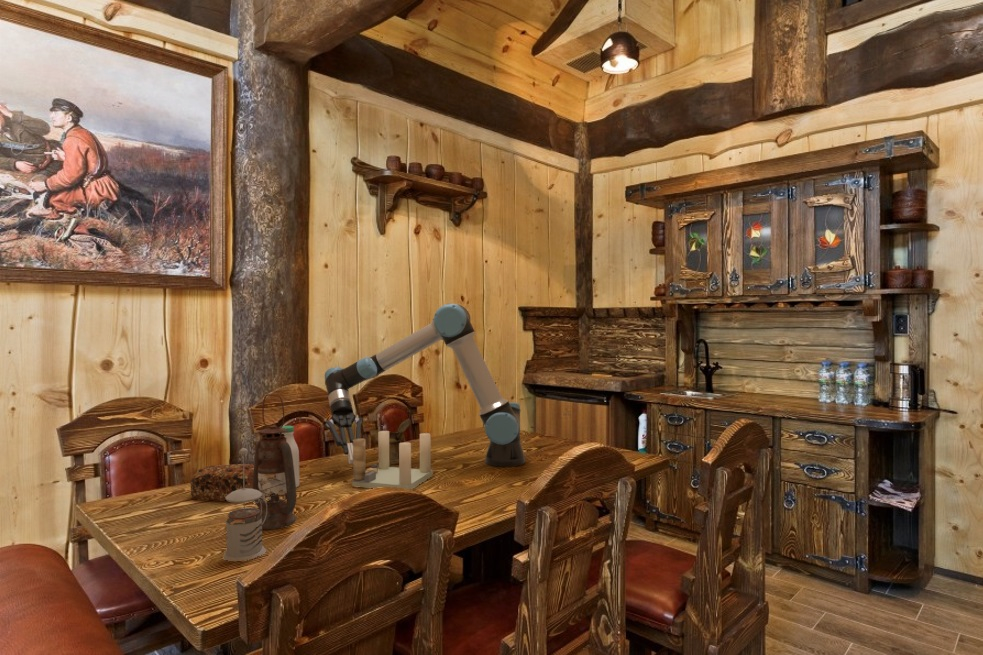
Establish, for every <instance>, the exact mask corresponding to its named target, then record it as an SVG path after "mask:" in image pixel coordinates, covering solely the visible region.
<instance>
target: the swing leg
mask: <svg viewBox="0 0 983 655" xmlns="http://www.w3.org/2000/svg"><path fill="white" fill-rule="evenodd" d="M366 461H367V460H366V438H360V439H354V440H353V464H352V466H353V467H352V475H353V477H352V478H353V479H355V480H362V479H364V475H365V474H367V473H369V472H371V471H373V472H378V468H379V463H372V464H371V465H370V466H371V467H369V468H367V469H366ZM353 479H352V480H353Z"/></svg>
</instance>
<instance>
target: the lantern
mask: <svg viewBox="0 0 983 655" xmlns="http://www.w3.org/2000/svg"><path fill="white" fill-rule="evenodd" d="M268 396H270V397H272V396H273V397H277V398H279V400H280V402H281V406H282V424H281V426H279V427H278V426H277V425H267V424H266V422H265V417H264V416H265V413H264V412H265V401H266V398H267V397H268ZM261 414H262V422H263V425H264V426H265V427H266V428H263V429H260V430H259V431H258V434H261V435H262V436H261V438H260V439H259V440H258V441H257V443H256V448H255V453H254V462H253V463H254V472H253V489H255V490H258V491H260V492H261V493H262V496H261V497H262V498H264V499H265V501H266V503H267V516H266V520H265V521H264V519H265V515H266V503H265V501H264V500H263V499H262V498H259V499H260V501H261V504H262V514H261V516H262V523H263V521H264V523H263V524H262V529H271V530H276V529H275V528H279V529H282V528H281V527H283V528H286V527H285V526H287V527H289V526H292V525H294V523H295V522H296V515H295V514H294V513H293V511H294V509H295V507H296V505H297V504H296V503H297V487H296V483H295V474H294V465H293V457H292V451H291V447H290V445H289V444H288V443H287V442H286V437H284V436H285V435H284V434H282V433H283V432H286V431H288V429H286V428H282V427H283V426H284V423H285V408H284V402H283V398H282V397H281V396H280V395H278V394H271V393H270V394H269V393H268V394H266V395H265V396H264V398H263V402H262V412H261ZM284 472H285V473H284ZM275 474H277V476H276V479H275V476H274V475H275ZM270 475H272V477H271V476H270ZM284 477H285V479H284ZM285 480H286V481H285ZM277 481H278V482H277ZM284 481H285V482H284ZM281 482H283V483H282V484H281ZM262 484H263V485H262ZM275 484H277V485H275ZM278 485H279V486H278ZM283 485H284V487H283ZM275 486H276V487H275ZM277 486H278V487H277ZM282 487H283V488H282ZM281 489H283V490H281ZM280 492H281V493H280ZM280 497H282V498H283V499H280ZM267 500H268V501H267ZM260 501H259V503H254V504H255V505H256V506H257V509H259V510H260V513H261V504H260ZM254 502H258V499H257V500H254ZM260 513H259V514H258V515H260ZM256 521H257V516H255V522H256ZM255 529H257V527H256V528H255Z"/></svg>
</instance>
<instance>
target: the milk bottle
mask: <svg viewBox="0 0 983 655" xmlns="http://www.w3.org/2000/svg"><path fill="white" fill-rule="evenodd" d="M282 428H286V429H288V431H286V432H283V433H282V434H284V435H285V436H284V437H286V442H287V443H288V444H289V445H290V447H291V451H292V457H293V465H294V474H295V483H296V488H298V487H299V486H300V453H299V452H300V451H299V447H298V446H299V445H298V444H297V442H296V440H295V437H294V434H295V427H294V426H293V425H283V427H282ZM284 473H285V472H284ZM276 476H277V474H274V477H275V479H276ZM284 479H285V477H284ZM285 481H286V480H285ZM285 481H284V482H285ZM277 482H278V481H277ZM282 483H283V482H281V484H282ZM275 485H277V484H275ZM278 486H279V485H278ZM278 486H277V487H278ZM275 487H276V486H275ZM283 487H284V485H283ZM283 487H282V488H283ZM280 491H283V489H281V490H280Z"/></svg>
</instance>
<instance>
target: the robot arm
mask: <svg viewBox="0 0 983 655" xmlns="http://www.w3.org/2000/svg"><path fill="white" fill-rule="evenodd" d="M433 316H434V317H433V318H432V321H431V323H429V324H427V325H426V326H424V327H422V328H420V329H418V330H417V331H415V332H413V333H411V334H409V335H408V336H405V337H404V338H403V339H400V340H399V341H397V342H395V343H393V344H392V345H390V346H387V348H384V349H382V350H381V351H379V352H378V353H376V354H374V355H372V356H364V357H363V358H361V359H358V360H357V361H355V362H354V363H352V364H350V365H347V367H345V368H342V367H340V366H335V367H330V368H328V369H327V370H326V371H325V372H324V385H325V387H326V392H327V397H328V398H327V399H328V403H329V407H330V408H329V409H330V410H329V411H330V414H331V418H330V419H327V420H326V421H325V427H326V428H327V429H328V430H329V433H330V434H331V437H332V438H333V440H334V443H335V445H336V446H337V447H341V448H342V449H343V454H344V455H345V456H347V459H348V464H349V465H353V440H354V439H361V425H362V422H363V419H364V418H362V417H356V414H355V413H354V409H353V406H352V400H351V396H350V391H349V390H350V389H351V388H354V387H355V386H357V385H359V384H360V383H363V382H364V381H367V380H371V379H375V378H377V377H378V376H380V375H381V374H383V373H385V372H386V371H388V370H389V369H391V368H393V367H395V366H397V365H399V364H400V363H402V362H404V361H406V360H407V359H409V358H411V357H413V356H414V355H416V354H418V353H420V352H422V351H424V350H426V349H427V348H429V347H431V346H433V345H434V344H436V343H438V342H440V341H443V342H444V344H445V346H446V347H447V348H450V349H452V351H453V353H454V356H455V357H456V359H457V361H458V363H459V366H460V368H461V370H462V372H463V374H464V376H465V379H466V380H467V383H468V384H469V386H470V388H471V391H472V393H473V394H474V397H475V400H476V401H477V403H478V405H479V407H480V411H479V412H478V414H479V417H480V419H481V421H482V424H483V425H484V432H485V435H486V436H487V439H489V443H488V444H489V445H488V447H487V450H486V454H485V457H484V458H485V460H484V461H485V464H487V465H489V466H492V467H493V466H494V467H501V468H504V467H505V468H506V467H507V468H509V467H511V468H512V467H517V466H522V465H524V464H525V463H526V461H525V460H526V458H525V453H524V449H523V447H522V444H521V411H522V410H521V405H520V404H519V403H518V402H509V400H508V399H506V398H503V397H502V395H501V392H500V391H499V388H498V386H497V384H496V382H495V380H494V378H493V376H492V374H491V372H490V369H489V368H488V365H487V364H486V361H485V360H484V357H483V354H482V352H481V351H480V349H479V347H478V345H477V342H476V341H475V338H474V336H475V334H476V330H475V329H474V327H473V325H472V323H471V315H470V313H469V311H468V310H467V308H466V307H464V306H462V305H460V304H456V303H446V304H443V305H442V306H440V307H439V308H438V309H437V310H436V311H435V314H434V315H433ZM354 423H355V434H354V430H353V424H354ZM335 426H336V427H337V428H338V431H337V428H336V427H335ZM345 429H346V430H345ZM338 432H339V433H338ZM346 432H347V435H346ZM347 437H348V440H349V442H348V440H347Z"/></svg>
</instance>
